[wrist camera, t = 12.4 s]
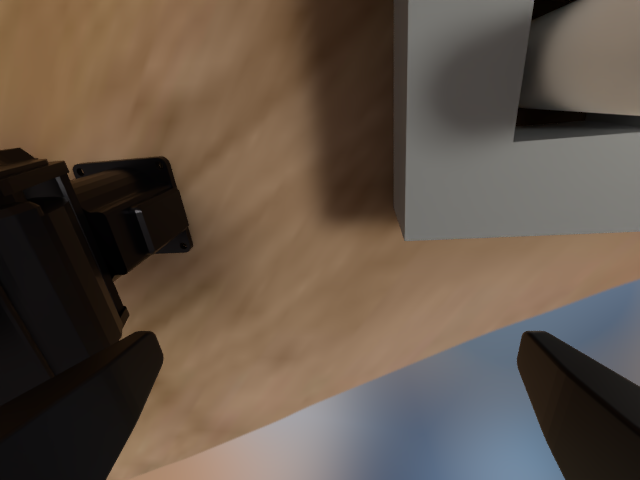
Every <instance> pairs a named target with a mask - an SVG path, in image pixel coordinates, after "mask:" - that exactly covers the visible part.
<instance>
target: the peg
mask: <svg viewBox="0 0 640 480" xmlns="http://www.w3.org/2000/svg"><path fill="white" fill-rule="evenodd" d="M518 108H527V109H543V110H558V111H574V112H589V113H604V114H620V115H635V116H640V0H576V1H574V2H572V3H569V4H567V5H565V6H563V7H561V8H558V9H556V10H554V11H552V12H549V13H547V14H545V15H543V16H540V17H538V18H536V19H534V20H532V21H531V25H530V32H529V38H528V45H527V52H526V58H525V65H524V72H523V78H522V85H521V92H520V98H519V105H518Z"/></svg>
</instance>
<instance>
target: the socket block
mask: <svg viewBox="0 0 640 480" xmlns="http://www.w3.org/2000/svg"><path fill="white" fill-rule="evenodd" d="M533 5H534V0H394V210H395V213H396V216H397V219H398V222H399V225H400V228H401V231H402V235H403V238H404V241H416V240H441V239H466V238H491V237H515V236H540V235H565V234H590V233H614V232H639V231H640V116H635V115H620V114H604V113H589V112H587V114H586V118H585V121H574V122H562V123H551V124H539V125H527V126H515V125H516V119H517V112H518V105H519V98H520V92H521V85H522V78H523V72H524V65H525V58H526V52H527V45H528V38H529V32H530V25H531V18H532V12H533Z"/></svg>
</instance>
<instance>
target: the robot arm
mask: <svg viewBox="0 0 640 480" xmlns="http://www.w3.org/2000/svg"><path fill="white" fill-rule="evenodd" d="M159 162H161V163H162V165H163V168H161V167H160V166H159ZM82 170H83V171H84V173H83V172H82ZM73 172H74V175H75V177H76V179H75V180H71V181H70V179H69V177H68V175H67V173H69V170H68V168H67V166H66V163H65V161H55V162H48V161H47V159H38V158H34V157H32V156H31V155H29V154H28V153H27V152H25V151H24V150H22V149H21V148H13V149H5V150H0V480H106V479H107V477H108V475H109V473H110V471H111V469H112V468H113V466H114V464H115V462H116V460H117V458H118V457H119V455H120V453H121V451H122V449H123V447H124V445H125V444H126V442H127V440H128V438H129V436H130V434H131V433H132V431H133V429H134V427H135V425H136V423H137V421H138V419H139V417H140V414H141V412H142V410H143V408H144V405H145V403H146V401H147V398H148V396H149V394H150V392H151V389H152V387H153V385H154V382H155V380H156V378H157V376H158V373H159V371H160V369H161V366H162V364H163V353H162V350H161V348H160V345H159V342H158V340H157V337H156V335H155V334H154V333H153V332H151V331H138V332H135V333H133V334H131V335H129V336H127V337H125V338H124V339H122V340H120V341H119V339H120V338H121V336H122V329H123V326H124V324H125V323H126V321H127V319H128V317H129V313H128V310H127V308H126V306H123V304H122V302H121V299H120V297H119V295H118V292H117V290H116V288H115V285H114V283H113V282H114V281H115V280H116V279H118V278H119V277H120V276H122V275H125V274H127V273H128V272H129V271H131V270H132V269H133V268H135V267H136V266H137V265H139V264H140V263H141V262H143V261H144V260H145V259H146V258H148V257H149V256H150V255H152V254H159V253H184V252H188V251H189V250H190V249H191V248H192V247H193V242H192V239H191V235H190V232H189V228H188V226H189V224H188V220H187V217H186V213H185V210H184V206H183V203H182V199H181V196H180V192H179V190H178V189H177V186H176V183H175V179H174V176H173V172H172V169H171V165H170V163H169V161H168V160H167V159H166V158H165V157H161V156H159V157H148V158H136V159H124V160H113V161H101V162H89V163H81V164H77V165H75V166H74V167H73ZM183 243H185V244H186V245H187V247H185V246H184V245H183ZM517 365H518V370H519V372H520V375H521V378H522V380H523V383H524V385H525V387H526V391H527V393H528V396H529V398H530V401H531V403H532V406H533V409H534V411H535V414H536V416H537V419H538V422H539V424H540V427H541V430H542V432H543V434H544V437H545V439H546V441H547V444H548V446H549V448H550V450H551V452H552V454H553V456H554V458H555V460H556V462H557V464H558V466H559V468H560V470H561V472H562V474H563V476H564V478H565V480H640V386H638V385H636V384H634V383H633V382H631V381H629V380H628V379H626V378H624V377H623V376H621V375H619V374H617V373H616V372H614V371H612V370H611V369H609V368H607V367H605V366H604V365H602V364H600V363H599V362H597V361H595V360H594V359H592V358H590V357H589V356H587V355H585V354H583V353H582V352H580V351H578V350H577V349H575V348H573V347H572V346H570V345H568V344H566V343H565V342H563V341H561V340H560V339H558V338H556V337H555V336H553V335H551V334H549V333H547V332H545V331H526V332H524V333H523V335H522V338H521V342H520V347H519V352H518V356H517Z"/></svg>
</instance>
